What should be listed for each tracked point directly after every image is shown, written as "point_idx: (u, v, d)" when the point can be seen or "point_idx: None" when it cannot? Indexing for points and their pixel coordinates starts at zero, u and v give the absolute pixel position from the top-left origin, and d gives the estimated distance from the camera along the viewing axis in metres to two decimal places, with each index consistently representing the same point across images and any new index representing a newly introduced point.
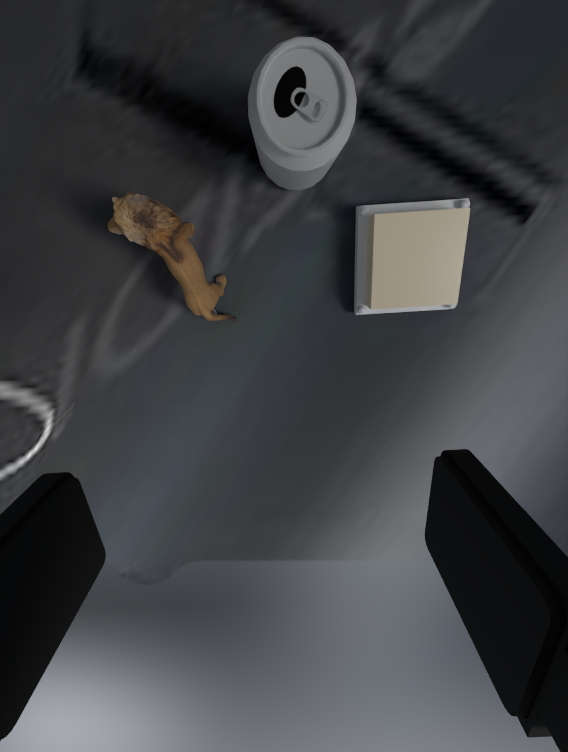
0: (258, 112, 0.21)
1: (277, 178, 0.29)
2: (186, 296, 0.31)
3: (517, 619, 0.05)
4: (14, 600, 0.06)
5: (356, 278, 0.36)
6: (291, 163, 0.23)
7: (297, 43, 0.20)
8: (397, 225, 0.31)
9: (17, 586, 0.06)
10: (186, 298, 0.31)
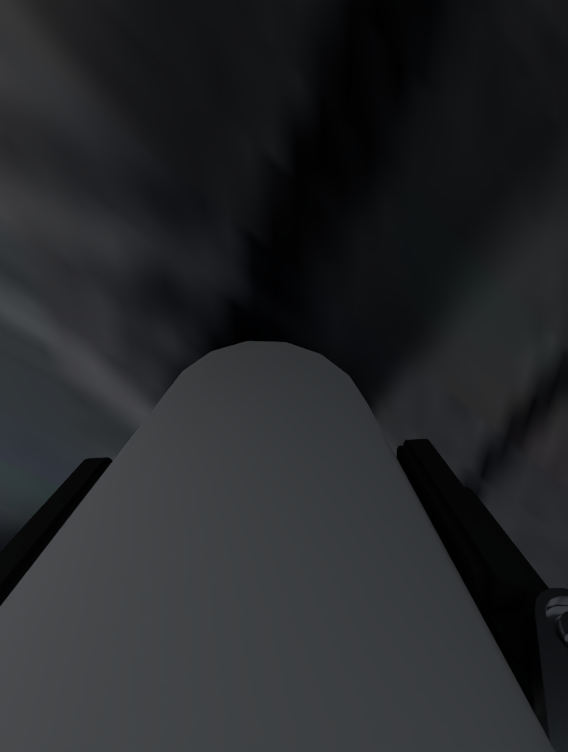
0: None
1: None
2: None
3: None
4: None
5: None
6: None
7: None
8: None
9: None
10: None
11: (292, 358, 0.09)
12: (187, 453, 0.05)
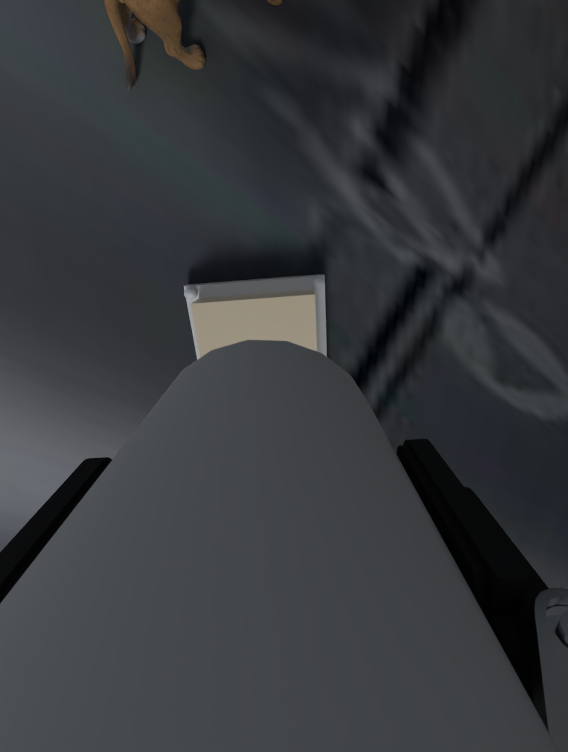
0: None
1: None
2: None
3: None
4: None
5: (234, 282, 0.26)
6: None
7: None
8: (300, 326, 0.24)
9: None
10: None
11: (292, 357, 0.09)
12: (187, 451, 0.05)
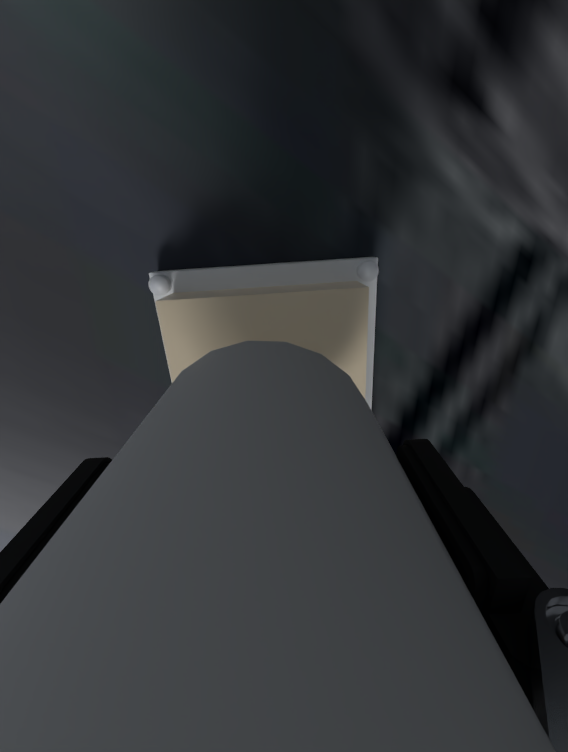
0: None
1: None
2: None
3: None
4: None
5: None
6: None
7: None
8: (341, 340, 0.14)
9: None
10: None
11: (292, 358, 0.09)
12: (186, 453, 0.05)
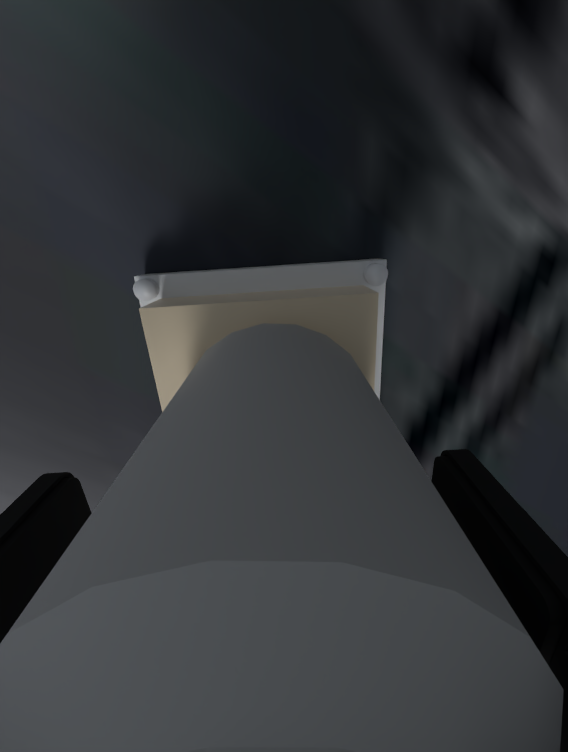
0: None
1: (152, 426, 0.09)
2: None
3: None
4: (14, 600, 0.06)
5: None
6: None
7: None
8: None
9: (17, 586, 0.06)
10: None
11: (302, 336, 0.10)
12: (230, 392, 0.06)
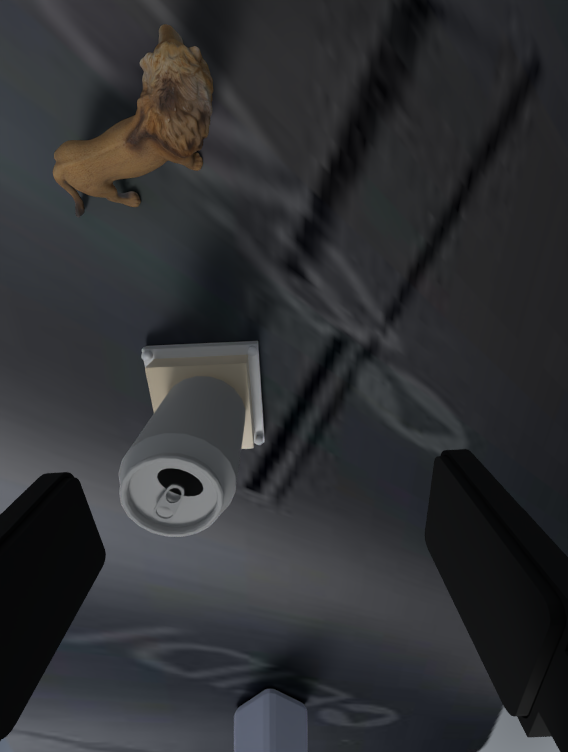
0: (153, 459, 0.19)
1: None
2: (76, 144, 0.21)
3: (517, 619, 0.05)
4: (14, 600, 0.06)
5: (184, 346, 0.31)
6: (121, 478, 0.20)
7: (217, 492, 0.20)
8: (235, 386, 0.30)
9: (17, 586, 0.06)
10: (74, 143, 0.21)
11: (209, 383, 0.27)
12: (175, 406, 0.23)
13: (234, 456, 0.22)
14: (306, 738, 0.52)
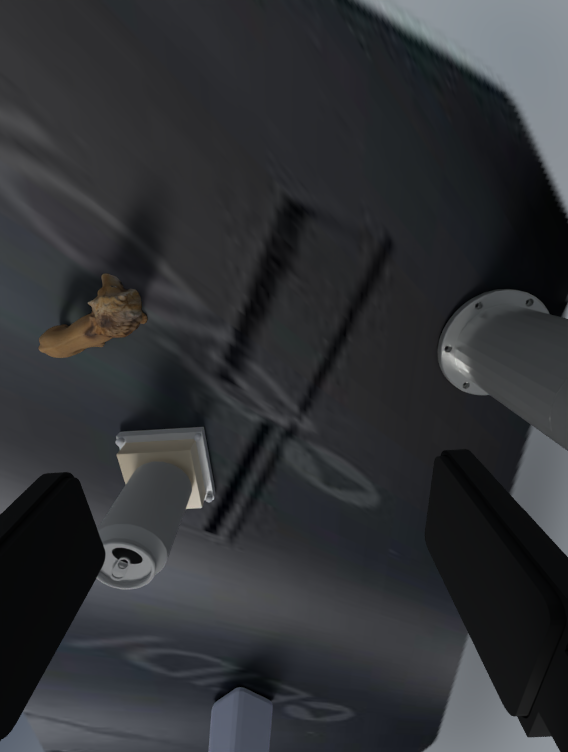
0: (107, 544, 0.29)
1: None
2: (52, 336, 0.31)
3: (517, 619, 0.05)
4: (14, 600, 0.06)
5: (147, 433, 0.42)
6: None
7: (150, 563, 0.30)
8: (184, 465, 0.40)
9: (17, 586, 0.06)
10: (51, 335, 0.31)
11: (160, 469, 0.38)
12: (130, 495, 0.34)
13: (167, 533, 0.33)
14: (269, 728, 0.62)
